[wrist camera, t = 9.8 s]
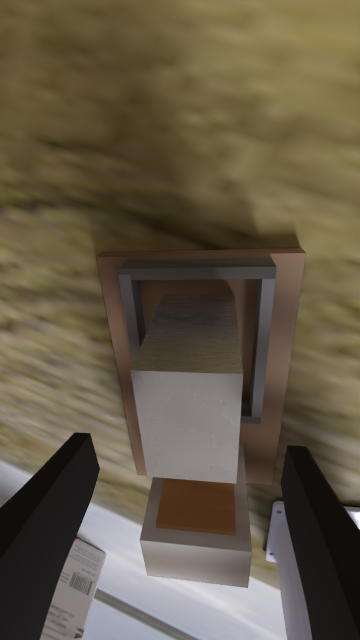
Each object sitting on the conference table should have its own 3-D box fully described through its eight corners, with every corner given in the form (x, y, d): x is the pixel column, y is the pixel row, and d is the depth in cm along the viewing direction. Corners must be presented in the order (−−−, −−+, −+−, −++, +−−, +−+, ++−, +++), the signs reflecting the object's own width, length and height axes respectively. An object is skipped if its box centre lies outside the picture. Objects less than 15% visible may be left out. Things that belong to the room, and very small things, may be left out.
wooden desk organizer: (270, 473, 24) (290, 599, 17) (139, 464, 26) (110, 576, 19) (301, 247, 16) (366, 316, 9) (102, 252, 17) (21, 315, 10)
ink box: (24, 533, 34) (-61, 696, 24) (45, 518, 32) (-39, 690, 22) (86, 566, 36) (32, 729, 26) (109, 554, 34) (60, 726, 24)
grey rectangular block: (234, 294, 16) (243, 374, 10) (230, 385, 19) (236, 489, 13) (163, 294, 17) (130, 370, 11) (170, 382, 20) (147, 481, 14)
